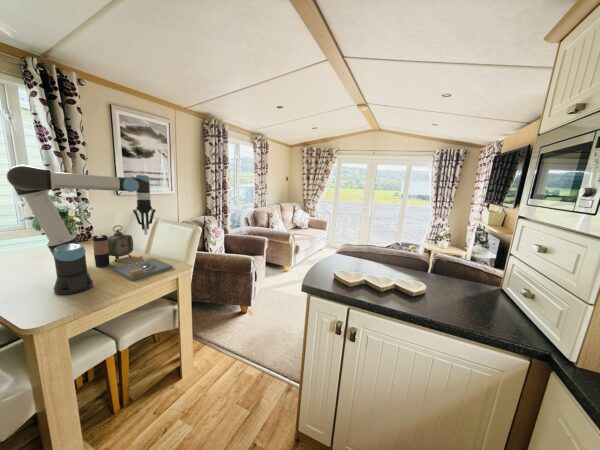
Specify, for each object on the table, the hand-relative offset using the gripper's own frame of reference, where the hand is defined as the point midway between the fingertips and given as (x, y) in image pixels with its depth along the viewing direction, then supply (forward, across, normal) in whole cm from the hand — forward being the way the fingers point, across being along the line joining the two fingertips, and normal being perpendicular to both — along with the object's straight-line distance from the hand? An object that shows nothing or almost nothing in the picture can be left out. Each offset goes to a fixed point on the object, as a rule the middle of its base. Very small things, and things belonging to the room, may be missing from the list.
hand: (145, 234), depth 159 cm
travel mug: (+22, +23, -15) cm, 36 cm away
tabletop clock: (+22, +13, -23) cm, 35 cm away
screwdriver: (+20, +6, +18) cm, 27 cm away
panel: (+22, +3, +7) cm, 23 cm away
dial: (+20, +2, +7) cm, 21 cm away
